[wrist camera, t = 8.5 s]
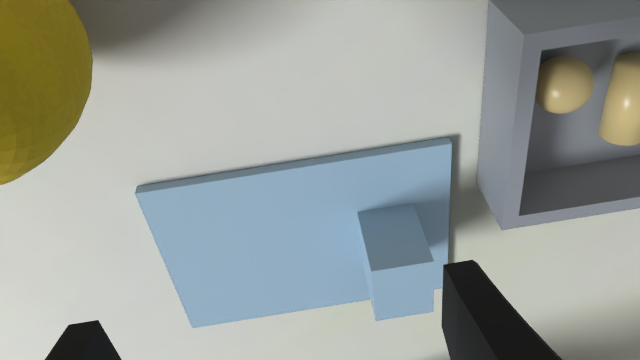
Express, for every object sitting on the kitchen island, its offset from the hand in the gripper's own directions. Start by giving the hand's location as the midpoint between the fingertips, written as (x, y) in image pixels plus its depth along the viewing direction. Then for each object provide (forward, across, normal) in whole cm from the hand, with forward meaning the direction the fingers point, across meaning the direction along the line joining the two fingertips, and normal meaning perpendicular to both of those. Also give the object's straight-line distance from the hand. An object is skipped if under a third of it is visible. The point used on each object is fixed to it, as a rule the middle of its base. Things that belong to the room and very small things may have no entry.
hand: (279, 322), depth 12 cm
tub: (+10, -14, +2) cm, 18 cm away
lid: (+11, 0, +8) cm, 13 cm away
